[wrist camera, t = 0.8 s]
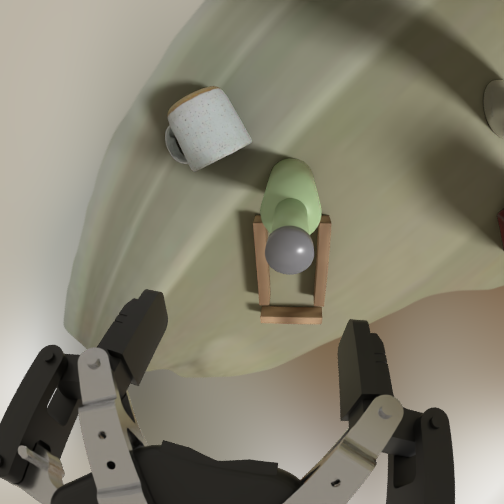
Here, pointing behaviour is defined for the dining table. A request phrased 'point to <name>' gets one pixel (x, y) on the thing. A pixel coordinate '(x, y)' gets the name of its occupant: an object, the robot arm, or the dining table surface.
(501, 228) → the dark red tall container
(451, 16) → the dining table surface
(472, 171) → the dining table surface
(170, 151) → the ceramic mug
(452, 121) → the dining table surface
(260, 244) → the rest
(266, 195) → the bottle
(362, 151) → the dining table surface
